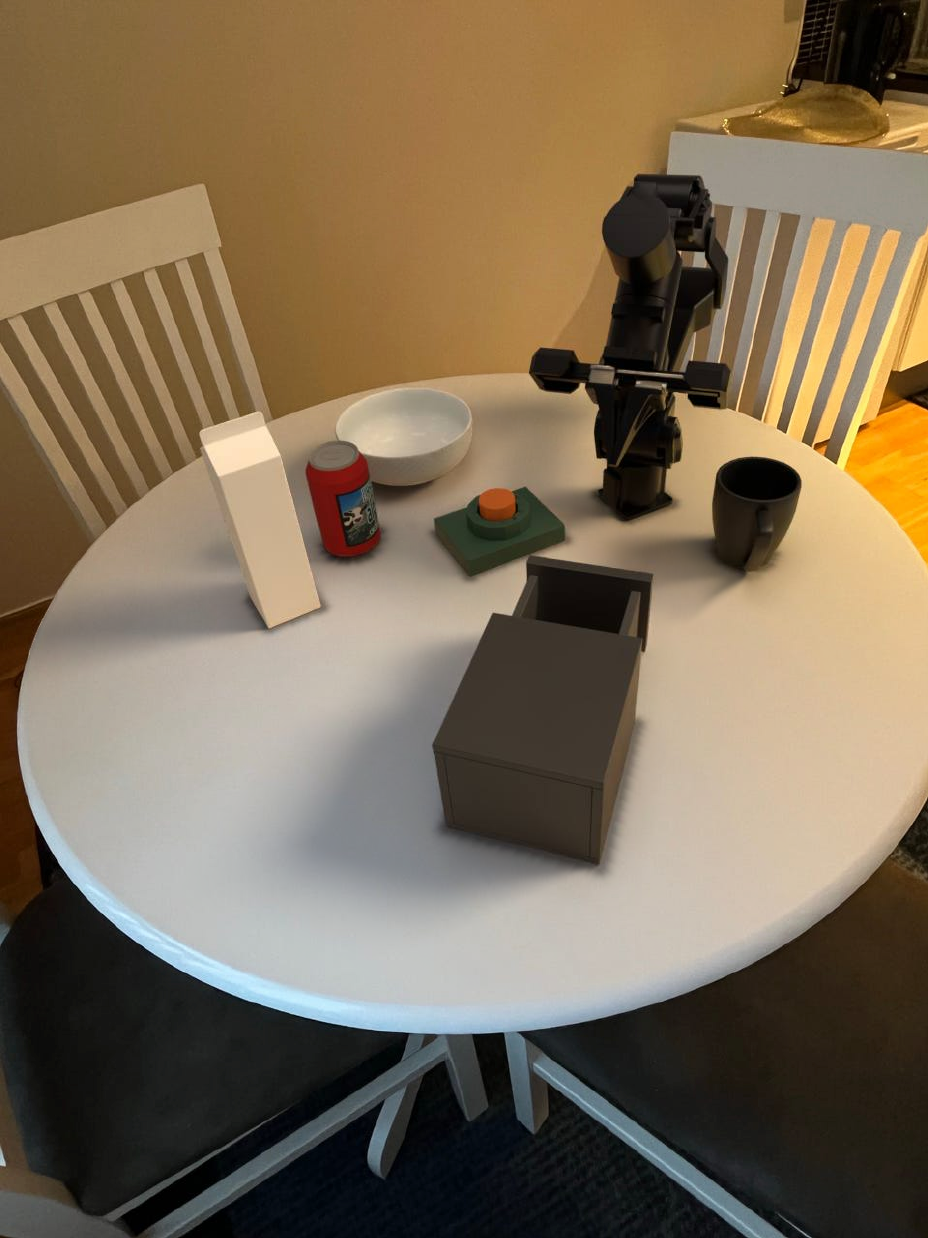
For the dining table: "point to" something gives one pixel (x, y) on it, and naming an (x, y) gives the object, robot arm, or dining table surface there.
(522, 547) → the control block
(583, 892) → the dining table surface
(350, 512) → the beverage can
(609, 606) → the drawer
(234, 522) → the milk
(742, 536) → the mug
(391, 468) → the cereal bowl
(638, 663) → the brown storage cube
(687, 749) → the dining table surface
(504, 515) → the button
